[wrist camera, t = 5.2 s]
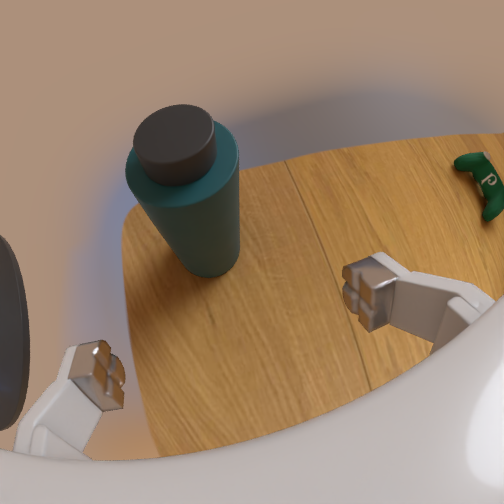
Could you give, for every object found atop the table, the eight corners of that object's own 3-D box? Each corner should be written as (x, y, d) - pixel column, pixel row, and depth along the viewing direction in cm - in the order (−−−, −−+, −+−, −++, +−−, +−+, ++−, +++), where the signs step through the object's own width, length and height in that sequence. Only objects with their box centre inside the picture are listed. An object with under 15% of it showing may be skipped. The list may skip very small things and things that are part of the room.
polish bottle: (183, 283, 21) (107, 200, 8) (175, 226, 23) (116, 107, 10) (245, 271, 22) (252, 169, 9) (233, 214, 23) (227, 82, 10)
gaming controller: (483, 225, 26) (512, 205, 23) (487, 222, 23) (518, 201, 20) (451, 167, 29) (479, 148, 26) (452, 159, 26) (482, 139, 23)
